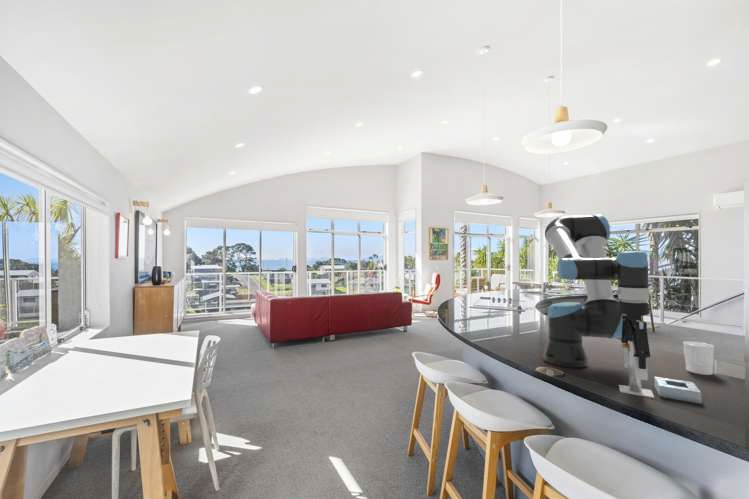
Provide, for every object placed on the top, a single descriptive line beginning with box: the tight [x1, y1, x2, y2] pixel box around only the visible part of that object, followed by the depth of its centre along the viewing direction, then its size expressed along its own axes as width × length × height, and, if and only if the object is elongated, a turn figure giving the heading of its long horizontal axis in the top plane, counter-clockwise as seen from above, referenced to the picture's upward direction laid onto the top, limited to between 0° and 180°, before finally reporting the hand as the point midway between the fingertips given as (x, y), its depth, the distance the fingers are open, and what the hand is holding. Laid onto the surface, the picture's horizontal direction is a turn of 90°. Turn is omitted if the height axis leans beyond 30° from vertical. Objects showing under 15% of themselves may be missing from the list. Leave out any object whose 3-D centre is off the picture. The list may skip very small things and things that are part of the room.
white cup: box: [683, 340, 715, 376], centre depth 118 cm, size 8×8×10 cm
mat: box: [618, 384, 655, 399], centre depth 100 cm, size 8×6×1 cm
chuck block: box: [654, 376, 703, 404], centre depth 98 cm, size 9×9×3 cm
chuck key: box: [621, 340, 643, 392], centre depth 101 cm, size 3×6×15 cm, turn 66°
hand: (635, 373), depth 100 cm, fingers open, 10 cm apart
